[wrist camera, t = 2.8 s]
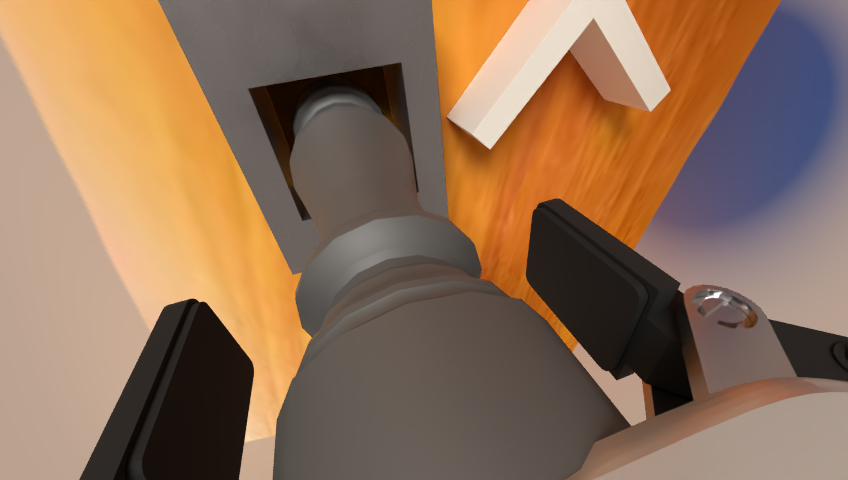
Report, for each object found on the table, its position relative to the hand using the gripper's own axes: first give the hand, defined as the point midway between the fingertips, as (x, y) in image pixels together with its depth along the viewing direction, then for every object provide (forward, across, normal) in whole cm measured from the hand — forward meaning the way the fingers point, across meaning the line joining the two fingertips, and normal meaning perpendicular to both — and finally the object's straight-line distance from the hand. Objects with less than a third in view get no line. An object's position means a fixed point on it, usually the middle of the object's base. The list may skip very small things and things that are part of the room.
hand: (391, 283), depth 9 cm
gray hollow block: (+18, 0, 0) cm, 18 cm away
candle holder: (+18, 0, 0) cm, 18 cm away
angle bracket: (+18, -17, -2) cm, 25 cm away
